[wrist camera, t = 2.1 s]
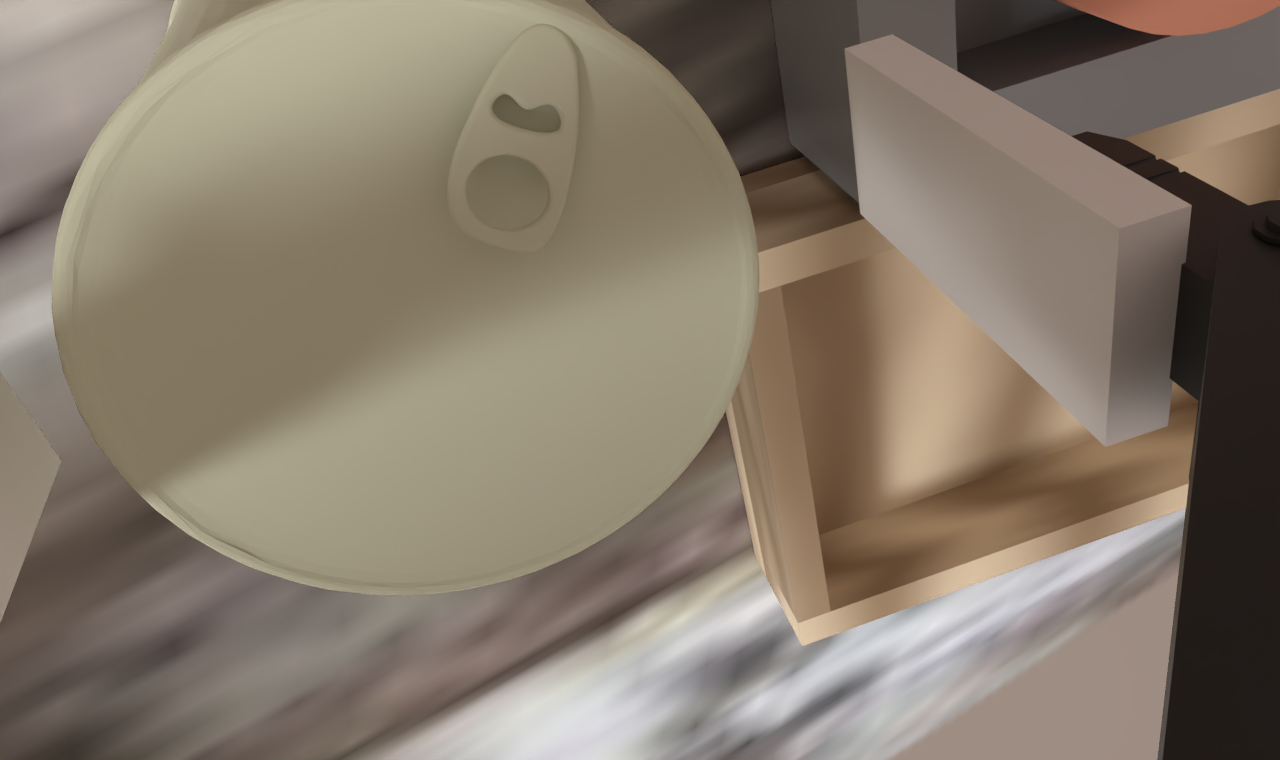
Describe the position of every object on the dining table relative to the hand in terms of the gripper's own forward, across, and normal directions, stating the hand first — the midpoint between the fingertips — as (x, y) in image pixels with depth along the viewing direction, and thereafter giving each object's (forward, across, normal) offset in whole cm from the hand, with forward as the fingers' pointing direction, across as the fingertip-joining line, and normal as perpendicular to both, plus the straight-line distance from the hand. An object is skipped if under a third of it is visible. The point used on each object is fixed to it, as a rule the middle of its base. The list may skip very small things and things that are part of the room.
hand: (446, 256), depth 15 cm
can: (+10, 0, 0) cm, 10 cm away
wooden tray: (+10, +14, -11) cm, 21 cm away
